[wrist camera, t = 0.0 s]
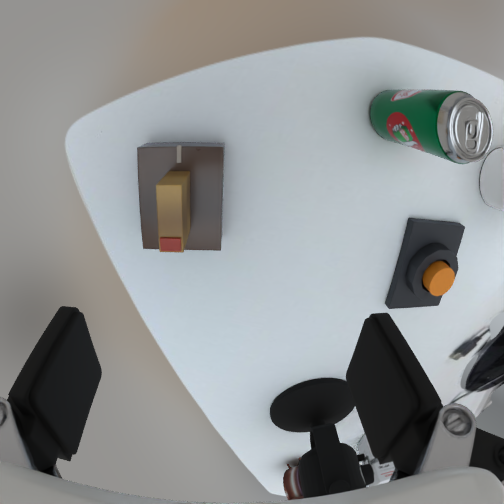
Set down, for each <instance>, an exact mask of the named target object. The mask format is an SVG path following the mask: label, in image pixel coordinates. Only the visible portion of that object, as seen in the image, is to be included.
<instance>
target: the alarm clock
mask: <svg viewBox="0 0 504 504" xmlns="http://www.w3.org/2000/svg"><path fill="white" fill-rule="evenodd" d="M300 459H301V458H299V460H300ZM287 466H288V467H289V469H288V470H286V472H285V473H284V477H283V484H284V490H285V493H286V496H287V498H288V500H295V499H304V498H303V492H302V487H301V481H300V475H299V470H298V466H299V465H298V466H295V467H293V468H291V467H290V466H289V464H287Z"/></svg>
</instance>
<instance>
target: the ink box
mask: <svg viewBox="0 0 504 504" xmlns="http://www.w3.org/2000/svg"><path fill="white" fill-rule="evenodd" d="M357 448H358V451H359V454H363V453H364V455H365V460H364V461H362V465H364V464H370V465H371V466H372V469H373V472H374V483H372V484H369V487H371V486H375V485H379V484H383V483H387V482H389V480H390V478H391V476H392V474H393V472H394V470H395V467H394V464H393V462H389V463H385V464H381V465H380V464H379V461H378V458H374V457H373V455H372V452H371V449H370V446H369V443H368V440H367V438H366V435H363V437H362V439H361V440H360V442H359V443H358V445H357Z"/></svg>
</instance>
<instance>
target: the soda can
mask: <svg viewBox="0 0 504 504" xmlns="http://www.w3.org/2000/svg"><path fill="white" fill-rule="evenodd" d="M370 117H371V122H372V125H373V127H374V129H375V130H376V132H377V133H378V134H379V135H380V136H381V137H383V138H384V139H386V140H389V141H392V142H395V143H399V144H402V145H405V146H408V147H412V148H415V149H418V150H421V151H424V152H427V153H430V154H432V155H435V156H438V157H441V158H444V159H446V160H449V161H452V162H454V163H458V164H467V163H470V162H476V161H479V160H481V159H482V158H483V157H484V156H485V155H486V154H487V152H488V151H489V149H490V146H491V144H492V139H493V124H492V120H491V117H490V114H489V112H488V110H487V108H486V107H485V106H484V105H483V104H482V103H481V102H480V101H479V100H477V99H475V98H474V97H473V96H471V95H470V94H468V93H466V92H463V91H452V90H386V91H383V92H381V93H380V94H378V95H377V96H376V98H375V99H374V101H373V103H372V105H371V110H370Z"/></svg>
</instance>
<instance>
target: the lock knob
mask: <svg viewBox="0 0 504 504" xmlns="http://www.w3.org/2000/svg"><path fill="white" fill-rule="evenodd" d="M156 200H157V220H158V236H159V250H160V252H184V249H185V245H186V242H187V239H188V235H189V232H190V229H191V227H190V171H169V172H167V174H166V175H165V176H164V177H163V178H162V179H161V180H160V181H159V182H158V183H157V185H156Z"/></svg>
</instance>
